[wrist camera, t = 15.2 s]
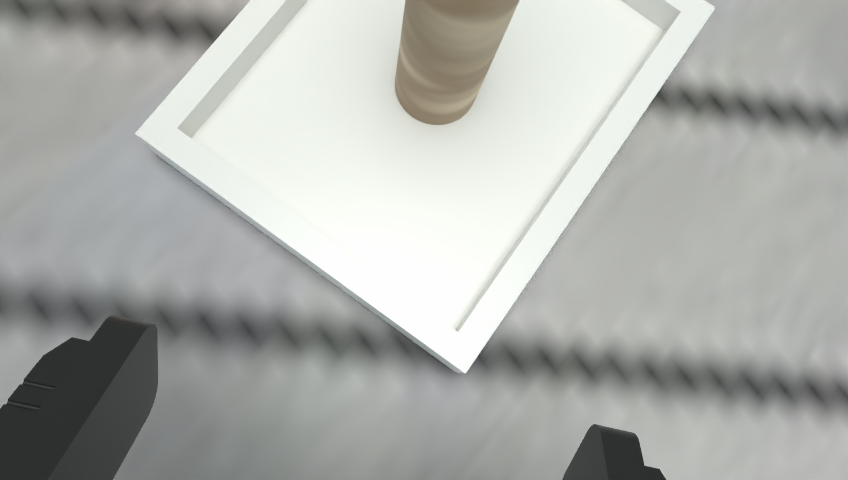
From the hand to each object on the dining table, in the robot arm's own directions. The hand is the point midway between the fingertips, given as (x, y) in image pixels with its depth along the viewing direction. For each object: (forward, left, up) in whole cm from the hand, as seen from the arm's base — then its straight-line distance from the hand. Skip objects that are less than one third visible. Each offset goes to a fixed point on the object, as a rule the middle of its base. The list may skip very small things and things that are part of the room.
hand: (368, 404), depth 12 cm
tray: (-5, +11, -13) cm, 17 cm away
